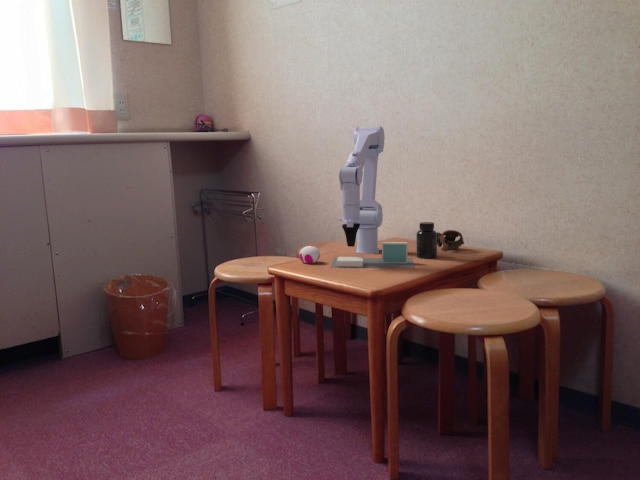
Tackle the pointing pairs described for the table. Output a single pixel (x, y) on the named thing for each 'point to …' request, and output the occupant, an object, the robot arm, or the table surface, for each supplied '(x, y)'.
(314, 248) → the stress ball
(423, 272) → the table surface
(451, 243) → the brown curved piece
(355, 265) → the tile
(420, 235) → the supplement bottle
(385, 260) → the tile
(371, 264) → the mat
